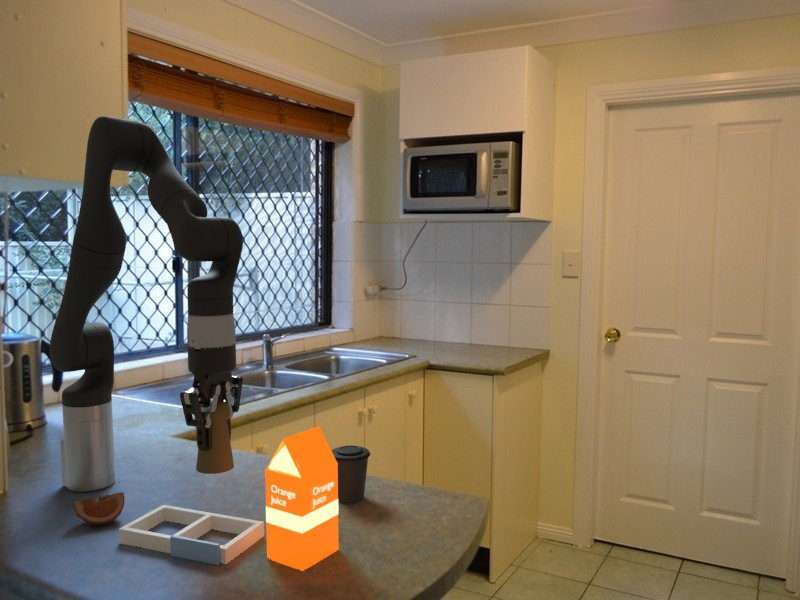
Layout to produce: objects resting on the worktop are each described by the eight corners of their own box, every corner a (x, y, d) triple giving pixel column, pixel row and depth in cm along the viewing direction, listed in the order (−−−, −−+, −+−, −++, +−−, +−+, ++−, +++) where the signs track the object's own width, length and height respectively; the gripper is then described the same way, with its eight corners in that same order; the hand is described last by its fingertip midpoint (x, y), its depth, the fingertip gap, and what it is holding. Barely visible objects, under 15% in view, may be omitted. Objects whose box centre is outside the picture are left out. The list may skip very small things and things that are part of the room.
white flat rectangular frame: (116, 544, 115) (115, 526, 114) (163, 518, 125) (163, 500, 125) (223, 566, 107) (223, 546, 107) (264, 535, 118) (263, 517, 118)
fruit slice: (75, 534, 119) (73, 506, 118) (73, 520, 125) (71, 493, 124) (127, 524, 123) (126, 497, 122) (122, 511, 129) (121, 485, 128)
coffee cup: (378, 495, 136) (378, 445, 135) (355, 509, 129) (355, 457, 128) (344, 488, 140) (344, 439, 139) (320, 501, 133) (319, 450, 132)
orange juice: (266, 558, 110) (263, 435, 108) (303, 538, 117) (301, 422, 115) (303, 571, 106) (301, 443, 104) (339, 549, 113) (338, 429, 111)
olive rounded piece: (219, 459, 118) (217, 395, 117) (241, 466, 114) (240, 401, 113) (188, 468, 113) (186, 402, 112) (210, 476, 109) (209, 408, 108)
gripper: (218, 334, 120) (221, 431, 121) (162, 347, 106) (166, 455, 108) (256, 336, 117) (258, 435, 119) (203, 350, 104) (206, 461, 105)
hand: (214, 444), depth 113 cm, fingers closed on olive rounded piece, 4 cm apart
